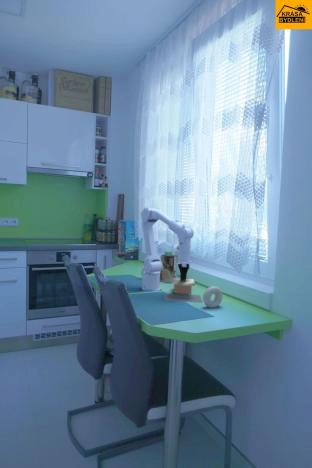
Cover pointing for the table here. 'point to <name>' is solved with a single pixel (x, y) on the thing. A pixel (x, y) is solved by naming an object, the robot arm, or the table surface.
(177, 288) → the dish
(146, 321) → the table surface
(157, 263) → the robot arm
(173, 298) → the mat
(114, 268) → the table surface
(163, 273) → the coffee box
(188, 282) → the lid
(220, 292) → the donut
